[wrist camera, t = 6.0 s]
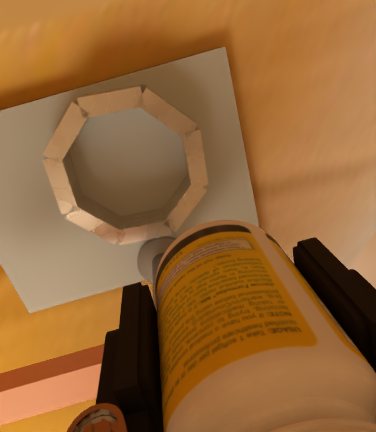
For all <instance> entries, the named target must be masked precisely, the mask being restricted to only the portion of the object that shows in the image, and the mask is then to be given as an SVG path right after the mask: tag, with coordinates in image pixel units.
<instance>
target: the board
mask: <svg viewBox="0 0 376 432" xmlns="http://www.w3.org/2000/svg"><path fill="white" fill-rule="evenodd" d="M140 84H141V88H142V92H143V90H144V88H145V87H146V86H148V87H149V88H150V89H152V90H153V91H154V92H156V93H157V94H159V95H160V96H161V97H163V98H164V99H165V100H167V101H168V102H170V103H171V104H172V105H174V106H175V107H176V108H178V109H179V110H181V111H182V112H183V113H185V114H186V115H188V116H189V117H190V118H192V119H193V120H194V121H195V123H196V124H197V126H198V127H199V129H200V131H201V138H202V145H203V151H204V158H205V165H206V171H207V178H208V185H207V186H206V188H207V191H206V193H205V194H204V195H203V197H202V198H201V199H200V201H199V202H198V203H197V205H196V206H195V207H194V209H193V210H192V211H191V213H190V214H189V215H188V217H187V218H186V219H185V221H184V222H183V223H182V225H181V226H180V227H179V229H178V230H177V231H176V232H175V231H173V230H172V229H171V233H172V235H168V236H163V237H158V238H153V239H148V240H143V241H138V242H133V243H128V244H123V245H119V242H118V240H117V242H116V243H115V244H112V243H111V242H109V241H107V240H105V239H103V238H101V237H99V236H97V235H95V234H94V233H92V232H90V231H88V230H86V229H84V228H82V227H80V226H78V225H77V224H75V223H73V222H71V221H69V220H67V219H65V218H66V216H67V214H68V213H66V214H61V211H60V209H59V206H58V203H57V200H56V197H55V195H54V192H53V189H52V186H51V183H50V181H49V178H48V175H47V172H46V169H45V167H44V164H43V161H42V160H43V159H44V158H45V157H46V156H45V155H43V152H44V151H45V149H46V147H47V145H48V143H49V142H50V140H51V138H52V136H53V135H54V133H55V131H56V129H57V127H58V126H59V124H60V122H61V120H62V119H63V117H64V115H65V113H66V111H67V110H68V108H69V106H70V104H71V103H72V101H74V100H76V99H77V98H78V97H81V96H83V95H86V94H92V93H97V92H102V91H108V90H113V89H118V88H124V87H129V86H135V85H140ZM70 154H71V157H72V160H73V163H74V166H75V170H76V173H77V176H78V179H79V182H80V185H81V188H82V192H83V195H85V196H87V197H89V198H90V199H92V200H94V201H96V202H97V203H99V204H101V205H103V206H105V207H106V208H108V209H110V210H112V211H113V212H115V213H117V214H119V215H120V216H125V215H130V214H135V213H140V212H145V211H150V210H155V209H160V208H163V207H164V206H165V204H166V203H167V202H168V200H169V199H170V197H171V196H172V195H173V193H174V192H175V190H176V189H177V188H178V186H179V185H180V183H181V182H182V181H183V179H184V178H185V177H186V175H187V170H186V165H185V159H184V153H183V148H182V142H181V136H180V135H179V134H177V133H176V132H175V131H173V130H172V129H170V128H169V127H167V126H166V125H165V124H163V123H162V122H160V121H159V120H157V119H156V118H154V117H153V116H152V115H150V114H149V113H147V112H146V111H144V110H143V109H142V108H134V109H129V110H124V111H119V112H113V113H108V114H103V115H97V116H92V117H90V118H89V120H88V122H87V123H86V125H85V127H84V129H83V130H82V132H81V134H80V135H79V137H78V139H77V141H76V142H75V144H74V146H73V147H72V149H71V151H70ZM215 220H236V221H242V222H246V223H250V224H253V225H255V226H257V227H259V222H258V217H257V211H256V206H255V201H254V195H253V190H252V185H251V180H250V174H249V169H248V164H247V158H246V153H245V148H244V142H243V137H242V132H241V126H240V121H239V116H238V110H237V105H236V100H235V94H234V89H233V84H232V78H231V73H230V68H229V63H228V57H227V52H226V47H221V48H217V49H214V50H210V51H207V52H203V53H200V54H196V55H193V56H189V57H186V58H182V59H179V60H175V61H172V62H168V63H165V64H161V65H158V66H154V67H151V68H147V69H144V70H140V71H137V72H133V73H130V74H126V75H123V76H119V77H116V78H112V79H109V80H105V81H102V82H98V83H95V84H91V85H88V86H84V87H81V88H77V89H74V90H70V91H67V92H63V93H60V94H56V95H53V96H49V97H46V98H42V99H39V100H35V101H32V102H28V103H25V104H21V105H18V106H14V107H11V108H7V109H4V110H0V264H1V266H2V268H3V269H4V271H5V273H6V274H7V276H8V278H9V279H10V281H11V283H12V285H13V286H14V288H15V290H16V291H17V293H18V295H19V296H20V298H21V300H22V302H23V303H24V305H25V307H26V308H27V310H28V312H29V313H33V312H36V311H40V310H43V309H47V308H50V307H54V306H57V305H61V304H64V303H68V302H71V301H75V300H78V299H82V298H85V297H89V296H92V295H96V294H99V293H103V292H106V291H110V290H113V289H117V288H120V287H124V286H126V285H130V284H134V283H138V282H141V281H145V280H147V281H148V282H150V283H152V284H153V302H154V305H155V308H156V311H157V307H156V296H155V283H156V274H157V270H158V266H159V264H160V261H161V259H162V257H163V255H164V253H165V252H166V250H167V249H168V247H169V246H170V245H171V244H172V243H173V242H174V241H175V240H176V239H177V238H178V237H179V236H180V235H182V234H183V233H184V232H186V231H188V230H189V229H191V228H193V227H195V226H197V225H200V224H202V223H206V222H209V221H215ZM259 228H260V227H259Z"/></svg>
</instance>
